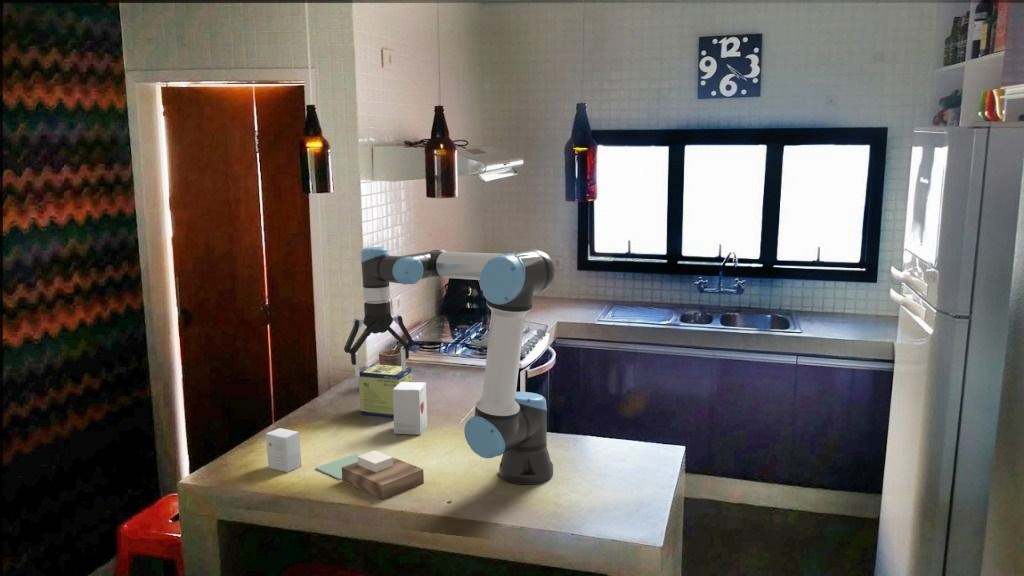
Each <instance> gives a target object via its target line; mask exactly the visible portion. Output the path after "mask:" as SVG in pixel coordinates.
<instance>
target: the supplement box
mask: <svg viewBox="0 0 1024 576" xmlns="http://www.w3.org/2000/svg"><path fill="white" fill-rule="evenodd" d="M393 411H394V418H393V434H395V435H415V436H421V435H422V434H423V432H424V431H425V430H426V428H427V427H428V412H427V411H428V409H427V383H426V382H424V381H423V382H418V381H416V382H414V381H412V382H400V383H399V384H398V385H397V386H396V387H395V388H394V389H393Z"/></svg>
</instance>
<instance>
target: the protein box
mask: <svg viewBox="0 0 1024 576" xmlns="http://www.w3.org/2000/svg"><path fill="white" fill-rule="evenodd" d="M359 372H360V376H358V386H359V387H358V389H359V391H358V392H359V407H360V408H359V409H360V412H359V414H360V416H368V417H376V418H377V417H378V418H387V419H394V411H393V389H394V388H395V387H396V386H397V385H398V384H399V383H400V382H413V379H412V378H413V377H412V376H413V375H412V367H411V366H406V371H403V370H402V365H401V366H389V365H380V364H376V363H375V364H373V363H372V364H371V365H369V366H367V367H366V368H364V369H362V370H359Z"/></svg>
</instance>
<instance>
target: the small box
mask: <svg viewBox="0 0 1024 576" xmlns="http://www.w3.org/2000/svg"><path fill="white" fill-rule="evenodd" d="M265 443H266V453H267V455H266V456H267V466H268V468H269V469H272V470H276V471H281V472H284V473H290V472H292V471H294V470H296V469H298V468H300V467H302V455H301V454H302V452H301V451H302V450H301V441H300V432H299V431H296V430H292V429H291V430H290V429H286V428H282V427H281V428H280V427H279V428H278V427H277V428H276V429H274V430H271V431H268V432H266V433H265Z"/></svg>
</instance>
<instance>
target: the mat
mask: <svg viewBox="0 0 1024 576" xmlns="http://www.w3.org/2000/svg"><path fill="white" fill-rule="evenodd" d="M357 456H360V454H357V453H354V454H351V455H348V456H345V457H342V458H340V459H337V460H333V461H331V462H329V463H326V464H322V465H319V466H316V467H315V470H316V471H319V472H321V473H323V472H324V473H323V474H325V473H326V475H328V476H330V475H331V476H330V477H333V478H334V477H335V478H334V479H337V480H339V479H340V480H339V481H342V480H341V479H342V467H344V466H347V465H350V464H353V463H355V462H358V458H357Z"/></svg>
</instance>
